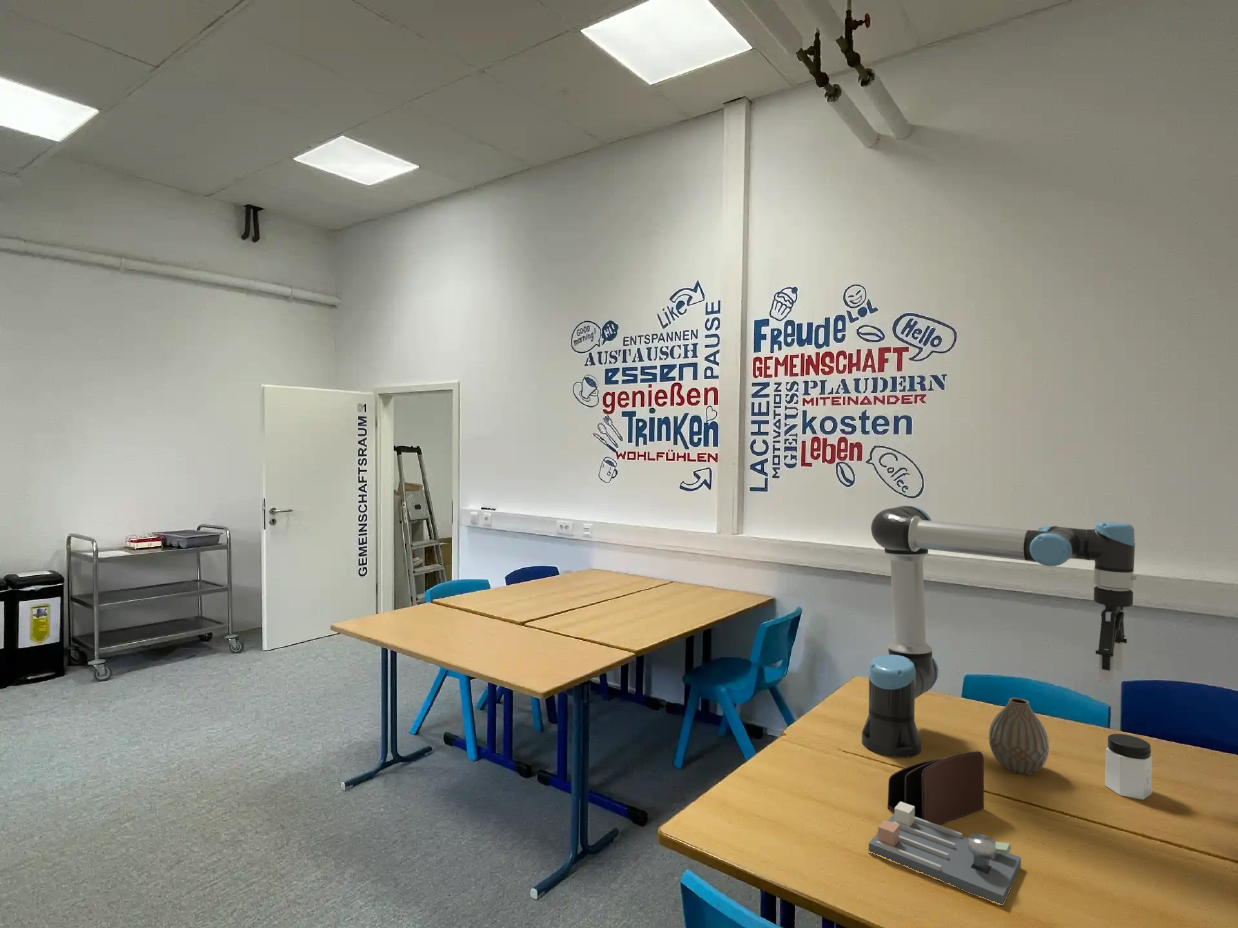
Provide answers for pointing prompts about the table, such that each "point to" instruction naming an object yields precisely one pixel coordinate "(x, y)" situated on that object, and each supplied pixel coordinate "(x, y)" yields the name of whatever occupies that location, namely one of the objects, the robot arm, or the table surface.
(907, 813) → the slider ivory
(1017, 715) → the vase
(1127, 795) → the jar
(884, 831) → the slider terracotta
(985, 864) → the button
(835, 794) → the table surface
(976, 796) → the letter holder
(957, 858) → the panel
